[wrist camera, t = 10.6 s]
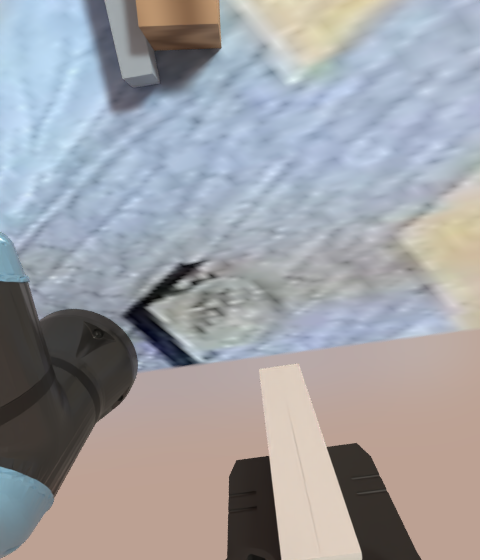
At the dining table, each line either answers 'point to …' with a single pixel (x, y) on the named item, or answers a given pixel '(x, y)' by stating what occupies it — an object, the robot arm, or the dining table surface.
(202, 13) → the block
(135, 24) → the grey rectangular bar
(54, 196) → the dining table surface
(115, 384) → the robot arm
